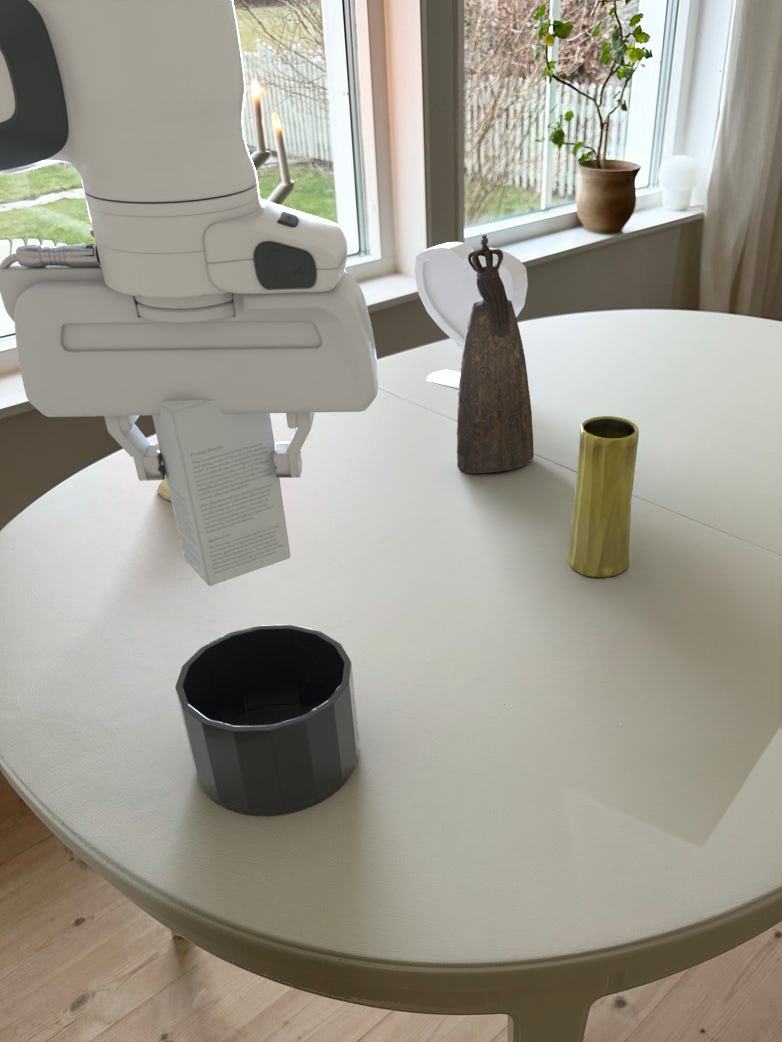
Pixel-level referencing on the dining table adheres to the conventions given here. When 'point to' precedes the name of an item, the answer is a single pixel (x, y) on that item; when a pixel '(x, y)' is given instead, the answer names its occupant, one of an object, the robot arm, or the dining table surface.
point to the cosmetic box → (222, 488)
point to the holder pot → (270, 718)
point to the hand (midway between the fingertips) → (222, 475)
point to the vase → (603, 497)
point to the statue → (493, 379)
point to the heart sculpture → (460, 291)
